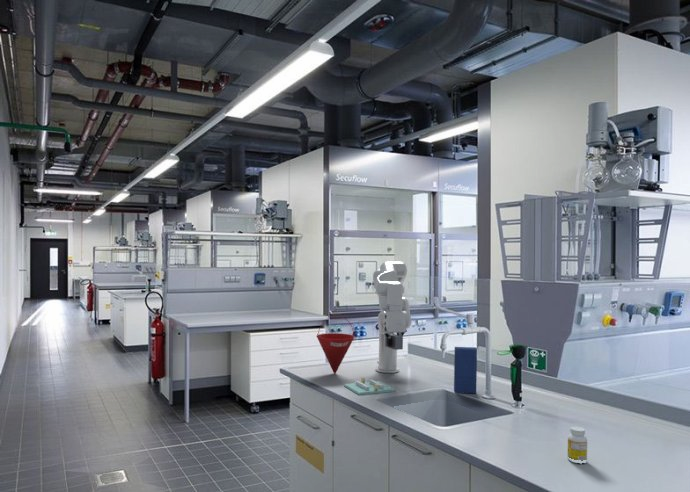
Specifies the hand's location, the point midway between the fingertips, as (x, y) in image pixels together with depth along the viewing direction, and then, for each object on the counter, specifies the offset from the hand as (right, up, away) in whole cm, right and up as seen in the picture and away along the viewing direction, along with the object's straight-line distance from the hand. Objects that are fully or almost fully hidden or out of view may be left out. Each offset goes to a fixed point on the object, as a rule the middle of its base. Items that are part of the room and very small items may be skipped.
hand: (393, 345), depth 246 cm
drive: (0, -1, 0) cm, 1 cm away
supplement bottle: (+46, -16, -94) cm, 105 cm away
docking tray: (-13, -17, -15) cm, 25 cm away
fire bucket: (-29, -17, +14) cm, 36 cm away
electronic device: (+30, -18, -17) cm, 39 cm away
